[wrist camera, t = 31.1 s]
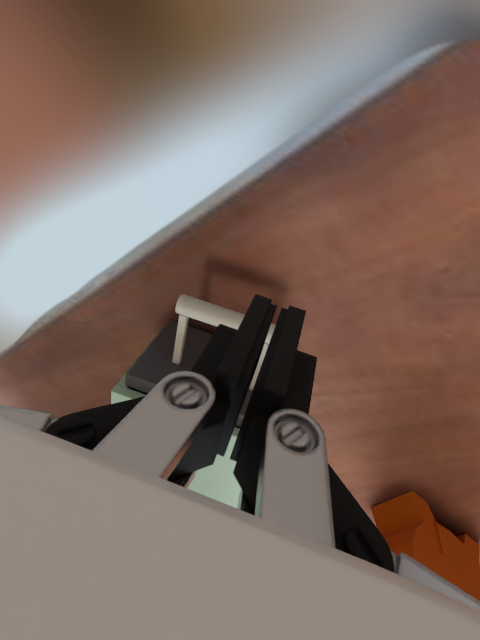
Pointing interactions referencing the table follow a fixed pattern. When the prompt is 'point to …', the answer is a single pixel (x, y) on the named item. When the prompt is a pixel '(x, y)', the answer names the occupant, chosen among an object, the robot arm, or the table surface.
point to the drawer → (186, 346)
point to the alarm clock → (429, 541)
